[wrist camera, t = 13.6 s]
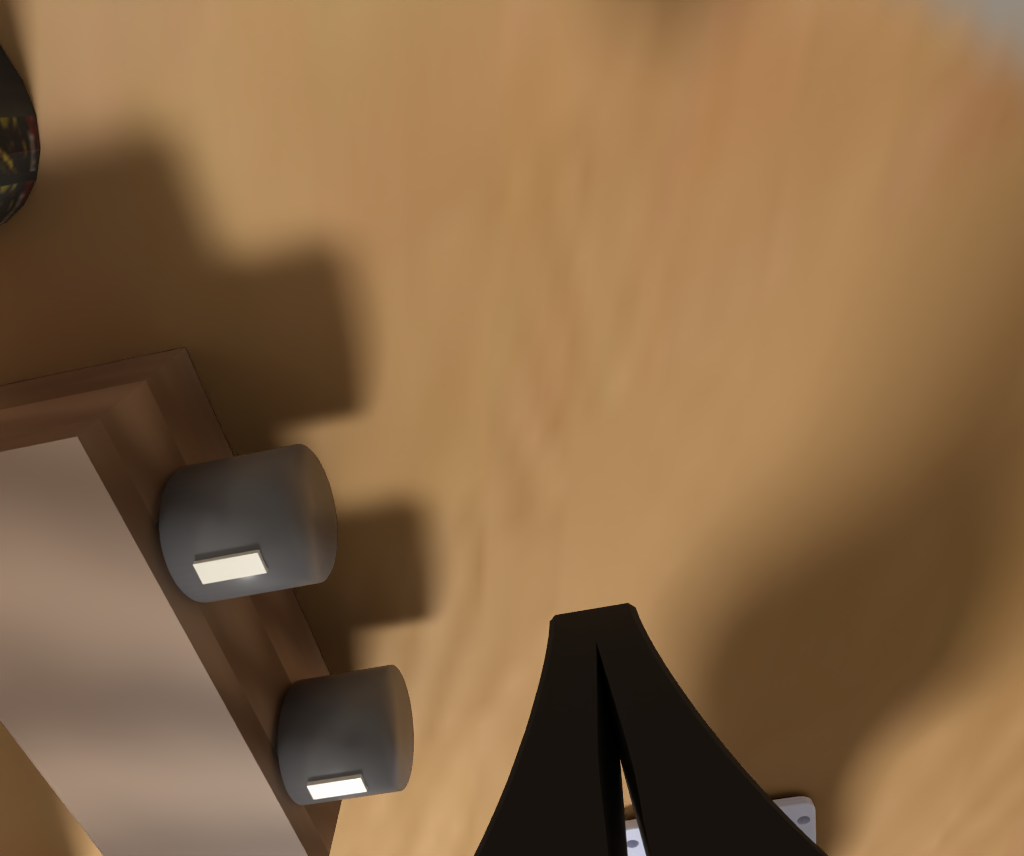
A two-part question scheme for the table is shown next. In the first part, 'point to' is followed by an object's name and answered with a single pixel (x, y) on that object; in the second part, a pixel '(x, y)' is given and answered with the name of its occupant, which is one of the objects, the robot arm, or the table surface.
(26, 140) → the deodorant
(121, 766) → the mount
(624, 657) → the robot arm
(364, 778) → the knob
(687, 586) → the table surface
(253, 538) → the knob
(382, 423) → the table surface
